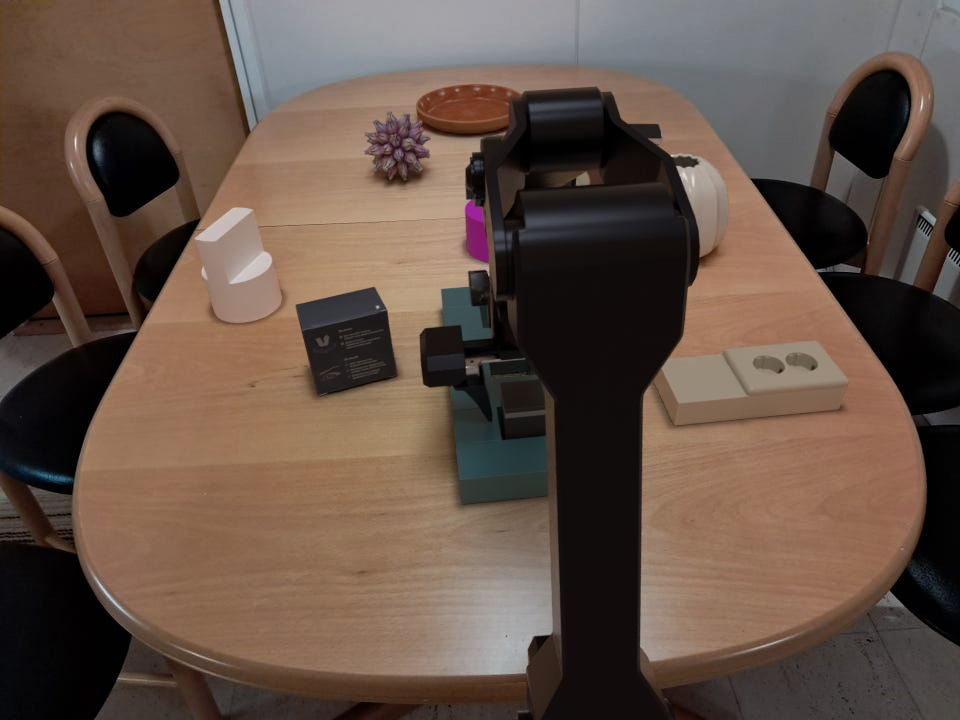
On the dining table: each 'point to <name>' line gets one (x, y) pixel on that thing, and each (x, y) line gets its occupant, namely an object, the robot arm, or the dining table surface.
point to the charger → (522, 409)
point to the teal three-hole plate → (479, 446)
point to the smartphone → (650, 132)
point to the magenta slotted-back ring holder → (476, 232)
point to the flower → (397, 145)
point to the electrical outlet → (751, 383)
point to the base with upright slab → (238, 268)
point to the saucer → (466, 108)
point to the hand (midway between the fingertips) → (523, 415)
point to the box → (347, 340)
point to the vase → (705, 198)
